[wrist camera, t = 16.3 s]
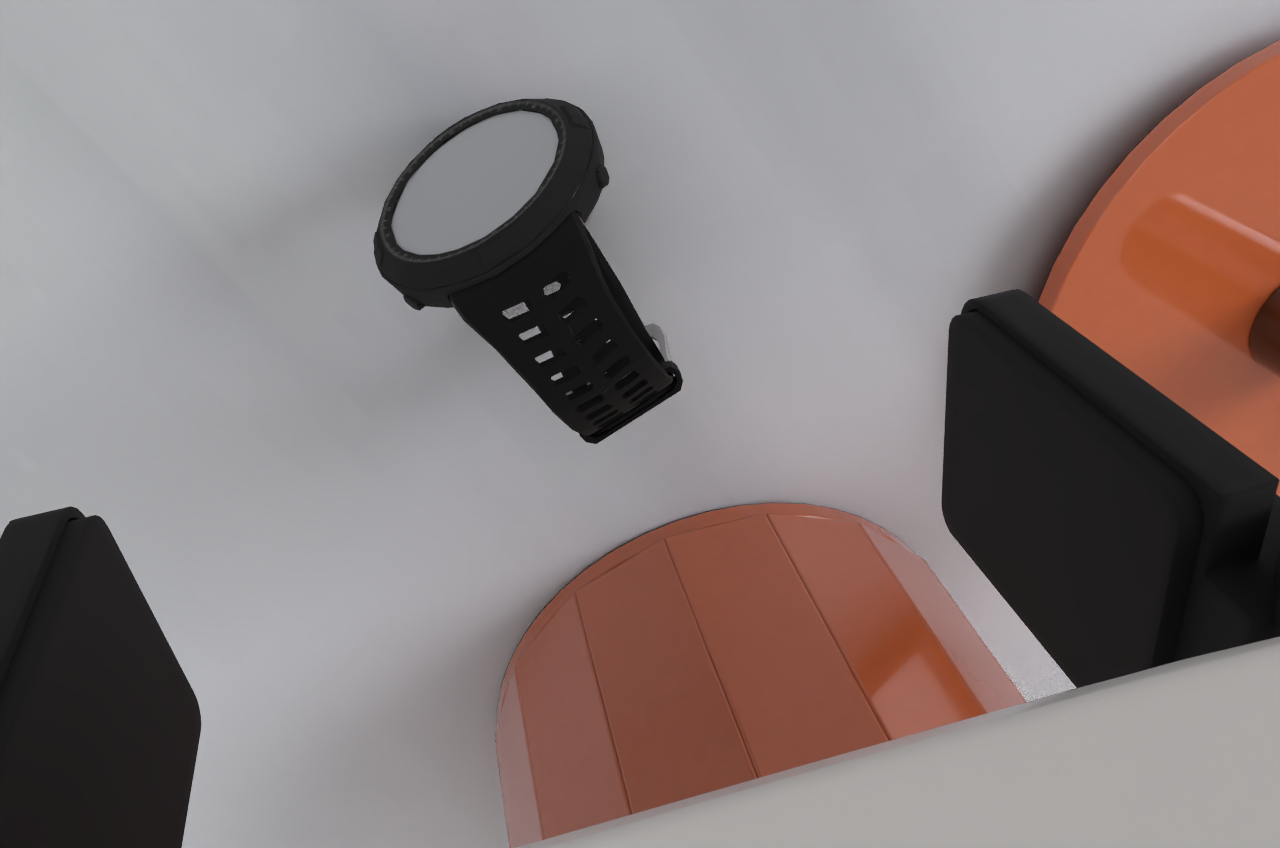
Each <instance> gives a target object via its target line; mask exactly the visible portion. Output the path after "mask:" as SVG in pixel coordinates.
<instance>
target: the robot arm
mask: <svg viewBox="0 0 1280 848" xmlns="http://www.w3.org/2000/svg"><path fill="white" fill-rule="evenodd" d="M1278 484H1279V479H1278V478H1277V477H1275V476H1274V475H1273V474H1271V473H1270V472H1269V471H1267V470H1266V469H1265V468H1263V467H1262V466H1260V465H1259V464H1258V463H1256V462H1255V461H1254V460H1252V459H1251V458H1250V457H1248V456H1247V455H1245V454H1244V453H1243V452H1241V451H1240V450H1239V449H1237V448H1236V447H1235V446H1233V445H1232V444H1230V443H1229V442H1228V441H1226V440H1225V439H1224V438H1222V437H1221V436H1220V435H1218V434H1217V433H1215V432H1214V431H1213V430H1211V429H1210V428H1209V427H1207V426H1206V425H1205V424H1203V423H1202V422H1200V421H1199V420H1198V419H1196V418H1195V417H1194V416H1192V415H1191V414H1190V413H1188V412H1187V411H1185V410H1184V409H1183V408H1181V407H1180V406H1179V405H1177V404H1176V403H1175V402H1173V401H1172V400H1171V399H1169V398H1168V397H1166V396H1165V395H1164V394H1162V393H1161V392H1160V391H1158V390H1157V389H1156V388H1154V387H1153V386H1151V385H1150V384H1149V383H1147V382H1146V381H1145V380H1143V379H1142V378H1141V377H1139V376H1138V375H1136V374H1135V373H1134V372H1132V371H1131V370H1130V369H1128V368H1127V367H1126V366H1124V365H1123V364H1121V363H1120V362H1119V361H1117V360H1116V359H1115V358H1113V357H1112V356H1111V355H1109V354H1108V353H1106V352H1105V351H1104V350H1102V349H1101V348H1100V347H1098V346H1097V345H1096V344H1094V343H1093V342H1091V341H1090V340H1089V339H1087V338H1086V337H1085V336H1083V335H1082V334H1081V333H1079V332H1078V331H1076V330H1075V329H1074V328H1072V327H1071V326H1070V325H1068V324H1067V323H1066V322H1064V321H1063V320H1062V319H1060V318H1059V317H1057V316H1056V315H1055V314H1053V313H1052V312H1051V311H1049V310H1048V309H1047V308H1045V307H1044V306H1042V305H1041V304H1040V303H1038V302H1037V301H1036V300H1034V299H1033V298H1032V297H1030V296H1029V295H1027V294H1026V293H1025V292H1023V291H1021V290H1018V289H1016V290H1010V291H1005V292H1001V293H997V294H992V295H988V296H984V297H979V298H975V299H971V300H968V301H967V302H966V303H965V304H964V307H963V309H962V312H961V315H957V316H955V317H954V318H952V320H951V323H950V327H949V341H948V364H947V388H946V411H945V435H944V458H943V482H942V511H943V516H944V519H945V522H946V524H947V527H948V529H949V531H950V532H951V534H952V535H953V536H954V538H955V539H956V540H957V541H958V542H959V544H960V545H961V546H962V547H963V549H964V550H965V551H966V552H967V554H968V555H969V556H970V557H971V558H972V560H973V561H974V562H975V563H976V565H977V566H978V567H979V568H980V569H981V571H982V572H983V573H984V574H985V576H986V577H987V578H988V579H989V581H990V582H991V583H992V584H993V585H994V587H995V588H996V589H997V590H998V592H999V593H1000V594H1001V595H1002V597H1003V598H1004V599H1005V600H1006V601H1007V603H1008V604H1009V605H1010V606H1011V608H1012V609H1013V610H1014V611H1015V612H1016V614H1017V615H1018V616H1019V617H1020V619H1021V620H1022V621H1023V622H1024V624H1025V625H1026V626H1027V627H1028V628H1029V630H1030V631H1031V632H1032V633H1033V635H1034V636H1035V637H1036V638H1037V640H1038V641H1039V642H1040V643H1041V644H1042V646H1043V647H1044V648H1045V649H1046V651H1047V652H1048V653H1049V654H1050V655H1051V657H1052V658H1053V659H1054V660H1055V662H1056V663H1057V664H1058V665H1059V667H1060V668H1061V669H1062V670H1063V671H1064V673H1065V674H1066V675H1067V676H1068V678H1069V679H1070V680H1071V681H1072V683H1073V684H1074V685H1075V686H1076V687H1077V688H1076V689H1072V690H1069V691H1065V692H1062V693H1058V694H1054V695H1051V696H1047V697H1044V698H1040V699H1037V700H1033V701H1030V702H1026V703H1022V704H1019V705H1015V706H1012V707H1008V708H1005V709H1001V710H998V711H994V712H990V713H987V714H983V715H980V716H976V717H973V718H969V719H965V720H962V721H958V722H955V723H951V724H948V725H944V726H941V727H937V728H933V729H930V730H926V731H923V732H919V733H916V734H912V735H909V736H905V737H901V738H898V739H894V740H891V741H887V742H884V743H880V744H877V745H873V746H869V747H866V748H862V749H859V750H855V751H852V752H848V753H844V754H841V755H837V756H834V757H830V758H827V759H823V760H820V761H816V762H813V763H809V764H806V765H802V766H799V767H795V768H792V769H788V770H785V771H781V772H778V773H774V774H771V775H767V776H764V777H760V778H757V779H753V780H750V781H746V782H743V783H739V784H736V785H733V786H729V787H726V788H722V789H719V790H715V791H712V792H708V793H705V794H701V795H698V796H694V797H691V798H687V799H684V800H680V801H677V802H673V803H670V804H666V805H663V806H659V807H656V808H652V809H649V810H645V811H642V812H638V813H635V814H632V815H628V816H625V817H621V818H618V819H614V820H611V821H607V822H604V823H600V824H597V825H593V826H590V827H586V828H583V829H579V830H576V831H572V832H569V833H566V834H562V835H559V836H555V837H552V838H548V839H545V840H541V841H538V842H534V843H531V844H528V845H524V846H521V847H517V848H1280V497H1279V496H1278V495H1277V494H1276V491H1277V488H1278ZM200 732H201V716H200V709H199V705H198V702H197V699H196V696H195V694H194V692H193V690H192V688H191V686H190V684H189V682H188V680H187V678H186V676H185V674H184V673H183V671H182V669H181V667H180V665H179V663H178V661H177V659H176V657H175V655H174V653H173V651H172V649H171V647H170V646H169V644H168V642H167V640H166V638H165V636H164V634H163V632H162V630H161V628H160V626H159V624H158V622H157V620H156V619H155V617H154V615H153V613H152V611H151V609H150V607H149V605H148V603H147V601H146V599H145V597H144V595H143V593H142V592H141V590H140V588H139V586H138V584H137V582H136V580H135V578H134V576H133V574H132V572H131V570H130V568H129V566H128V565H127V563H126V561H125V559H124V557H123V555H122V553H121V551H120V549H119V547H118V545H117V543H116V541H115V539H114V538H113V536H112V534H111V532H110V530H109V528H108V526H107V525H106V523H105V521H104V520H103V519H102V518H101V517H99V516H96V515H94V516H90V517H86V518H85V516H84V515H83V514H82V513H81V512H80V511H79V510H78V509H77V508H74V507H67V508H62V509H58V510H54V511H49V512H45V513H41V514H36V515H32V516H27V517H23V518H19V519H15V520H12V521H10V522H9V524H8V525H7V526H6V528H5V530H4V532H3V534H2V536H1V538H0V848H181V847H182V841H183V835H184V828H185V822H186V816H187V810H188V804H189V798H190V792H191V786H192V780H193V774H194V768H195V762H196V756H197V750H198V744H199V738H200Z"/></svg>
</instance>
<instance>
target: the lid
mask: <svg viewBox="0 0 1280 848" xmlns="http://www.w3.org/2000/svg"><path fill="white" fill-rule="evenodd" d="M1038 303H1040V304H1041V305H1042V306H1044V307H1045V308H1047V309H1048V310H1049V311H1051V312H1052V313H1053V314H1055V315H1056V316H1057V317H1059V318H1060V319H1062V320H1063V321H1064V322H1066V323H1067V324H1068V325H1070V326H1071V327H1072V328H1074V329H1075V330H1076V331H1078V332H1079V333H1081V334H1082V335H1083V336H1085V337H1086V338H1087V339H1089V340H1090V341H1091V342H1093V343H1094V344H1096V345H1097V346H1098V347H1100V348H1101V349H1102V350H1104V351H1105V352H1106V353H1108V354H1109V355H1111V356H1112V357H1113V358H1115V359H1116V360H1117V361H1119V362H1120V363H1121V364H1123V365H1124V366H1126V367H1127V368H1128V369H1130V370H1131V371H1132V372H1134V373H1135V374H1136V375H1138V376H1139V377H1141V378H1142V379H1143V380H1145V381H1146V382H1147V383H1149V384H1150V385H1151V386H1153V387H1154V388H1156V389H1157V390H1158V391H1160V392H1161V393H1162V394H1164V395H1165V396H1166V397H1168V398H1169V399H1171V400H1172V401H1173V402H1175V403H1176V404H1177V405H1179V406H1180V407H1181V408H1183V409H1184V410H1185V411H1187V412H1188V413H1190V414H1191V415H1192V416H1194V417H1195V418H1196V419H1198V420H1199V421H1200V422H1202V423H1203V424H1205V425H1206V426H1207V427H1209V428H1210V429H1211V430H1213V431H1214V432H1215V433H1217V434H1218V435H1220V436H1221V437H1222V438H1224V439H1225V440H1226V441H1228V442H1229V443H1230V444H1232V445H1233V446H1235V447H1236V448H1237V449H1239V450H1240V451H1241V452H1243V453H1244V454H1245V455H1247V456H1248V457H1250V458H1251V459H1252V460H1254V461H1255V462H1256V463H1258V464H1259V465H1260V466H1262V467H1263V468H1265V469H1266V470H1267V471H1269V472H1270V473H1271V474H1273V475H1274V476H1275V477H1277V478H1278V479H1279V484H1278V488H1277V491H1276V494H1277V495H1278V496H1279V497H1280V40H1279V41H1277V42H1275V43H1273V44H1271V45H1269V46H1267V47H1266V48H1264V49H1262V50H1260V51H1258V52H1256V53H1255V54H1253V55H1251V56H1249V57H1247V58H1245V59H1244V60H1242V61H1240V62H1238V63H1236V64H1235V65H1233V66H1232V67H1231V68H1229V69H1228V70H1226V71H1225V72H1223V73H1222V74H1220V75H1219V76H1217V77H1216V78H1215V79H1213V80H1212V81H1210V82H1209V83H1207V84H1206V85H1204V86H1203V87H1201V88H1200V89H1199V90H1197V91H1196V92H1195V93H1194V94H1193V95H1191V96H1190V97H1189V98H1188V99H1187V100H1185V101H1184V102H1183V103H1182V104H1181V105H1179V106H1178V107H1177V108H1176V109H1175V110H1174V111H1172V112H1171V113H1170V114H1169V115H1168V116H1166V117H1165V118H1164V119H1163V120H1162V121H1161V122H1160V123H1159V124H1158V125H1157V126H1156V127H1155V128H1154V129H1153V130H1152V131H1151V132H1150V133H1149V134H1148V135H1147V136H1146V137H1145V138H1144V139H1143V140H1142V141H1141V142H1140V143H1139V144H1138V145H1137V146H1136V147H1135V148H1134V149H1133V150H1132V151H1131V152H1130V153H1129V154H1128V155H1127V157H1126V158H1125V159H1124V160H1123V161H1122V163H1121V164H1120V165H1119V166H1118V167H1117V169H1116V170H1115V171H1114V172H1113V174H1112V175H1111V176H1110V177H1109V178H1108V180H1107V181H1106V182H1105V183H1104V185H1103V186H1102V187H1101V188H1100V189H1099V191H1098V192H1097V194H1096V195H1095V197H1094V198H1093V200H1092V201H1091V203H1090V204H1089V206H1088V207H1087V209H1086V210H1085V212H1084V213H1083V214H1082V216H1081V217H1080V219H1079V220H1078V222H1077V223H1076V225H1075V226H1074V228H1073V230H1072V232H1071V234H1070V235H1069V237H1068V239H1067V241H1066V243H1065V245H1064V246H1063V248H1062V250H1061V252H1060V254H1059V256H1058V257H1057V259H1056V261H1055V263H1054V265H1053V267H1052V270H1051V272H1050V275H1049V277H1048V279H1047V282H1046V284H1045V287H1044V289H1043V291H1042V294H1041V296H1040V299H1039V301H1038Z"/></svg>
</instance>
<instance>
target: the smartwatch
mask: <svg viewBox="0 0 1280 848" xmlns="http://www.w3.org/2000/svg"><path fill="white" fill-rule="evenodd" d="M608 183H609V175H608V172H607V169H606V168H605V167H604V155H603V150H602V147H601V144H600V141H599V138H598V135H597V133H596V130H595V127H594V124H593V122H592V121H591V119H590V118H589V117H588V116H587V115H586V113H585V112H584V111H583V110H582V109H580V108H579V107H577V106H574V105H572V104H570V103H568V102H565V101H562V100H555V99H520V100H515V101H510V102H504V103H499V104H496V105H494V106H491V107H489V108H486V109H483V110H481V111H478V112H476V113H474V114H472V115H470V116H468V117H465V118H463V119H462V120H460V121H459V122H457V123H455V124H454V125H452V126H451V127H449V128H448V129H446V130H445V131H444V132H442V133H441V134H440V135H438V136H437V137H436V138H434V140H433V141H432V142H430V143H429V144H428V145H427V146H426V147H425V148H424V149H423V150H422V151H421V152H420V153H419V154H418V155H417V156H416V157H415V158H414V159H413V160H412V161H411V162H410V163H409V165H408V166H407V167H406V169H405V170H404V171H403V173H402V174H401V175H400V177H399V178H398V179H397V181H396V182H395V184H394V186H393V188H392V190H391V192H390V193H389V195H388V197H387V199H386V201H385V203H384V207H383V210H382V213H381V217H380V220H379V224H378V228H377V232H375V236H374V255H375V259H376V264H377V266H378V269H379V271H380V273H381V275H382V277H383V278H384V279H386V280H387V281H388V282H389V283H390V284H391V285H393V286H394V287H395V288H396V289H397V290H398V291H400V292H401V293H402V294H403V295H404V296H403V297H404V299H405V301H406V303H408V304H409V305H410V306H411V307H412V308H414V309H416V310H421V309H422V308H423V307H425V306H431V307H445V308H450V307H455V309H456V310H457V312H458V313H459V314H460V316H461V317H462V319H463V320H464V321H465V322H466V323H467V324H468V325H469V326H470V327H471V328H473V329H474V330H475V331H476V332H477V333H478V334H479V335H480V336H481V337H483V338H484V339H485V340H486V341H487V342H488V343H489V344H490V345H491V346H493V347H494V348H495V349H496V350H497V351H498V352H499V353H500V355H501V356H502V357H503V358H504V359H505V360H506V361H507V362H508V363H509V364H510V365H511V367H512V368H513V369H514V370H515V371H516V372H517V373H518V374H519V375H520V376H521V377H522V378H523V379H524V380H525V381H526V382H527V383H528V385H529V386H530V387H531V388H532V389H533V390H534V391H535V392H536V393H537V394H538V395H539V396H540V398H541V399H542V400H543V401H544V402H545V403H546V405H547V406H548V407H549V408H550V409H551V410H552V412H553V413H554V414H555V415H557V416H558V417H559V418H560V419H561V420H562V421H563V422H564V423H565V424H567V425H568V426H569V427H570V428H571V429H572V430H574V431H576V432H578V433H579V434H580V436H581V437H582V438H583V439H584V440H585V441H586V442H588V443H594V444H597V443H599V442H600V441H602V440H603V439H605V438H606V437H608V436H610V435H611V434H613V433H614V432H616V431H617V430H619V429H621V428H622V427H624V426H625V425H627V424H628V423H630V422H632V421H633V420H635V419H636V418H638V417H639V416H641V415H643V414H644V413H646V412H647V411H649V410H650V409H652V408H654V407H655V406H657V405H658V404H660V403H661V402H663V401H665V400H666V399H668V398H669V397H671V396H672V395H674V394H676V393H677V392H679V391H680V390H681V386H682V382H683V380H682V376H681V373H680V371H679V369H678V367H677V365H676V364H675V363H673V362H672V360H671V358H670V353H669V348H668V343H667V338H666V336H665V334H664V333H663V331H662V329H661V328H660V326H657V325H655V324H650V325H647V326H644V325H643V323H642V321H641V319H640V318H639V316H638V314H637V312H636V310H635V309H634V307H633V305H632V303H631V301H630V299H629V298H628V296H627V294H626V292H625V290H624V289H623V287H622V285H621V283H620V281H619V280H618V278H617V277H616V275H615V273H614V272H613V270H612V269H611V267H610V265H609V264H608V262H607V261H606V259H605V257H604V256H603V254H602V252H601V251H600V249H599V248H598V246H597V244H596V243H595V241H594V240H593V238H592V236H591V235H590V233H589V232H588V230H587V228H586V227H585V225H586V223H587V221H588V219H589V218H590V216H591V214H592V212H593V210H594V208H595V205H596V203H597V201H598V198H599V196H600V193H601V191H602V189H603V188H604V187H605V186H607V185H608ZM555 281H557V282H559V283H561V287H560V290H559V291H556V292H554V293H552V294H550V295H544V291H543V288H544V287H545V286H547V285H549V284H551V283H553V282H555ZM521 302H524V303H525V304H526V306H527V308H528V309H529V311H527V312H525V313H523V314H521V315H518V316H516V317H514V318H511V319H508V318H506V317H505V316H504V315H503V314H502V311H504V310H506V309H508V308H510V307H513V306H515V305H517V304H519V303H521ZM573 311H574V312H573ZM571 312H572V313H571ZM569 313H571V314H570V315H569V316H568V317H567V318H563V316H565V315H567V314H569ZM595 318H596V319H597V320H594V319H595ZM536 326H538V327H539V329H540V331H541V333H540V334H538V335H535V336H533V337H531V338H529V339H527V340H524V341H523V340H522V339H521V338H520V337H519V334H521V333H523V332H525V331H527V330H529V329H532V328H534V327H536ZM609 339H610V340H611V341H609V342H608V343H606V342H607V341H608V340H609ZM652 339H655V340H657V341H658V343H659V346H660V350H661V352H660V351H659V349H658V348H657V346H656V344H655V343H654V341H653V340H652ZM579 340H580V341H579ZM550 350H551V352H552V354H553V356H554V357H552V358H550V359H548V360H546V361H544V362H541V363H538V362H537V361H536V360H535V357H537V356H540V355H542V354H544V353H546V352H548V351H550ZM661 353H662V354H661ZM662 355H663V356H662ZM560 372H561V373H562V375H563V377H562V378H560V379H558V380H556V381H554V380H551V377H552V376H554V375H556V374H558V373H560ZM606 372H607V373H606ZM673 374H674V375H675V377H674V376H673ZM572 392H573V393H572Z"/></svg>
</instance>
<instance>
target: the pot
mask: <svg viewBox="0 0 1280 848" xmlns="http://www.w3.org/2000/svg"><path fill="white" fill-rule="evenodd" d="M1022 703H1026V700H1025V699H1024V698H1023V696H1022V695H1021V693H1020V692H1019V691H1018V689H1017V688H1016V686H1015V685H1014V684H1013V682H1012V681H1011V680H1010V678H1009V677H1008V675H1007V674H1006V673H1005V671H1004V670H1003V668H1002V667H1001V666H1000V664H999V663H998V661H997V660H996V659H995V657H994V656H993V654H992V653H991V652H990V650H989V649H988V648H987V646H986V645H985V643H984V642H983V641H982V639H981V638H980V636H979V635H978V634H977V632H976V631H975V629H974V628H973V627H972V625H971V624H970V622H969V621H968V620H967V618H966V617H965V616H964V614H963V613H962V611H961V610H960V609H959V607H958V606H957V604H956V603H955V602H954V600H953V599H952V597H951V596H950V595H949V593H948V592H947V590H946V589H945V588H944V586H943V585H942V583H941V582H940V581H939V579H938V578H937V577H936V575H935V574H934V572H933V571H932V570H931V568H930V567H929V565H928V564H927V563H926V561H925V560H923V558H921V557H919V556H917V555H916V554H915V553H914V552H913V551H912V550H911V549H910V548H909V547H908V546H907V545H906V544H905V543H904V542H903V541H901V540H900V539H898V538H897V537H896V536H894V535H893V534H891V533H890V532H888V531H887V530H886V529H884V528H882V527H880V526H878V525H876V524H874V523H872V522H870V521H868V520H866V519H863V518H861V517H859V516H856V515H853V514H849V513H846V512H843V511H839V510H836V509H833V508H826V507H820V506H814V505H808V504H793V503H764V504H751V505H740V506H735V507H729V508H724V509H719V510H713V511H708V512H705V513H701V514H698V515H695V516H691V517H688V518H685V519H681V520H678V521H675V522H672V523H670V524H668V525H665V526H663V527H660V528H658V529H655V530H653V531H650V532H648V533H646V534H643V535H642V536H640V537H638V538H636V539H634V540H632V541H630V542H628V543H627V544H625V545H623V546H621V547H619V548H617V549H615V550H614V551H612V552H611V553H609V554H608V555H606V556H605V557H603V558H602V559H600V560H599V561H597V562H596V563H594V564H593V565H591V566H590V567H588V568H587V569H586V570H584V571H583V572H582V573H581V574H580V575H579V576H577V577H576V578H575V579H574V580H573V581H571V582H570V583H569V584H568V585H567V586H566V587H564V588H563V589H562V590H561V591H560V592H559V593H558V594H557V595H556V596H555V597H554V598H553V600H552V601H551V602H550V603H549V604H548V605H547V606H546V607H545V608H544V609H543V610H542V611H541V612H540V614H539V615H538V617H537V618H536V619H535V621H534V622H533V623H532V625H531V626H530V628H529V629H528V630H527V632H526V633H525V634H524V636H523V638H522V640H521V641H520V643H519V645H518V647H517V649H516V651H515V653H514V654H513V656H512V658H511V660H510V663H509V666H508V668H507V671H506V674H505V677H504V680H503V682H502V685H501V691H500V697H499V702H498V708H497V730H496V734H495V738H496V739H495V743H496V750H497V757H498V765H499V772H500V780H501V787H502V795H503V802H504V810H505V817H506V825H507V832H508V840H509V847H510V848H517V847H521V846H524V845H528V844H531V843H534V842H538V841H541V840H545V839H548V838H552V837H555V836H559V835H562V834H566V833H569V832H572V831H576V830H579V829H583V828H586V827H590V826H593V825H597V824H600V823H604V822H607V821H611V820H614V819H618V818H621V817H625V816H628V815H632V814H635V813H638V812H642V811H645V810H649V809H652V808H656V807H659V806H663V805H666V804H670V803H673V802H677V801H680V800H684V799H687V798H691V797H694V796H698V795H701V794H705V793H708V792H712V791H715V790H719V789H722V788H726V787H729V786H733V785H736V784H739V783H743V782H746V781H750V780H753V779H757V778H760V777H764V776H767V775H771V774H774V773H778V772H781V771H785V770H788V769H792V768H795V767H799V766H802V765H806V764H809V763H813V762H816V761H820V760H823V759H827V758H830V757H834V756H837V755H841V754H844V753H848V752H852V751H855V750H859V749H862V748H866V747H869V746H873V745H877V744H880V743H884V742H887V741H891V740H894V739H898V738H901V737H905V736H909V735H912V734H916V733H919V732H923V731H926V730H930V729H933V728H937V727H941V726H944V725H948V724H951V723H955V722H958V721H962V720H965V719H969V718H973V717H976V716H980V715H983V714H987V713H990V712H994V711H998V710H1001V709H1005V708H1008V707H1012V706H1015V705H1019V704H1022Z"/></svg>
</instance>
